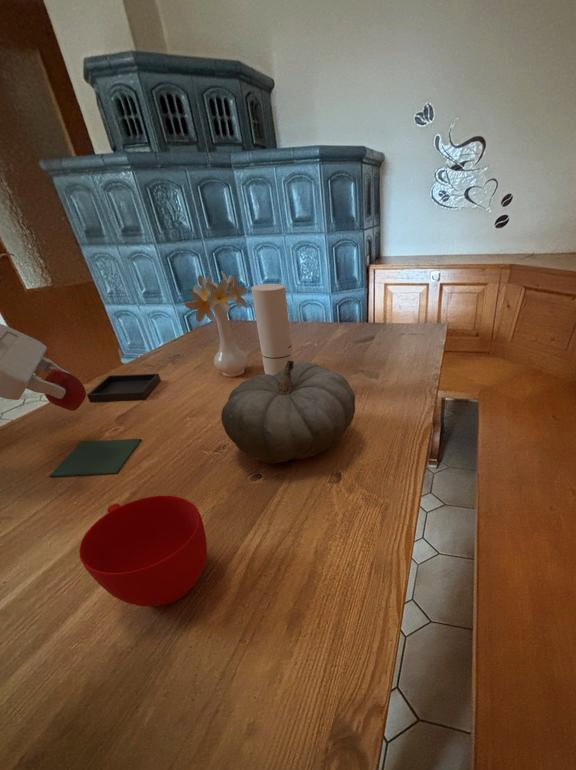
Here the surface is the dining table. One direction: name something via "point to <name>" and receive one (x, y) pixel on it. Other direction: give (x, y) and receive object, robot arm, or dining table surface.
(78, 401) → the onion
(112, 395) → the tray
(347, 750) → the dining table surface
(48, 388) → the robot arm
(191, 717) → the dining table surface
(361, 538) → the dining table surface
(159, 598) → the ceramic cup
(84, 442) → the mat
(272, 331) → the cylindrical container
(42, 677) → the dining table surface
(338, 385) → the gourd
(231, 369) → the flower vase
